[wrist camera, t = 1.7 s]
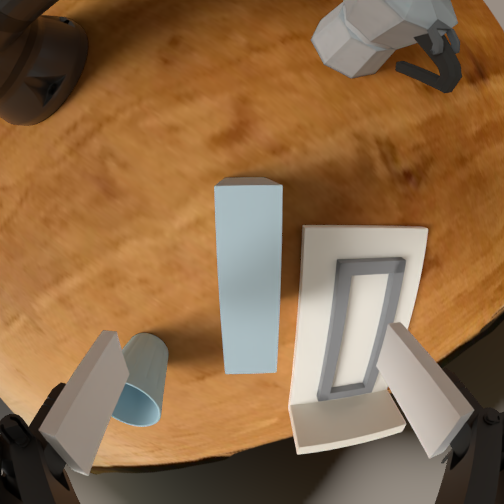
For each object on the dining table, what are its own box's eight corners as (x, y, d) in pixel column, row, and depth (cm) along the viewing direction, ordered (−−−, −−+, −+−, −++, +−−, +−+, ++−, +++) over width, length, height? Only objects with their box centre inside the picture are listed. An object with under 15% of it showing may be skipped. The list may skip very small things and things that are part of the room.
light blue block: (224, 177, 27) (214, 186, 16) (264, 177, 28) (282, 185, 16) (229, 303, 32) (225, 374, 20) (264, 302, 32) (276, 372, 20)
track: (302, 225, 29) (328, 251, 20) (422, 226, 30) (471, 247, 21) (288, 407, 38) (297, 454, 29) (380, 392, 38) (401, 431, 29)
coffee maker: (289, 10, 21) (332, -95, 4) (353, 2, 21) (424, -76, 4) (346, 121, 26) (464, 86, 9) (406, 104, 25) (525, 81, 8)
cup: (171, 325, 32) (149, 383, 22) (181, 371, 34) (168, 430, 25) (116, 324, 32) (83, 375, 22) (131, 368, 34) (108, 421, 24)
